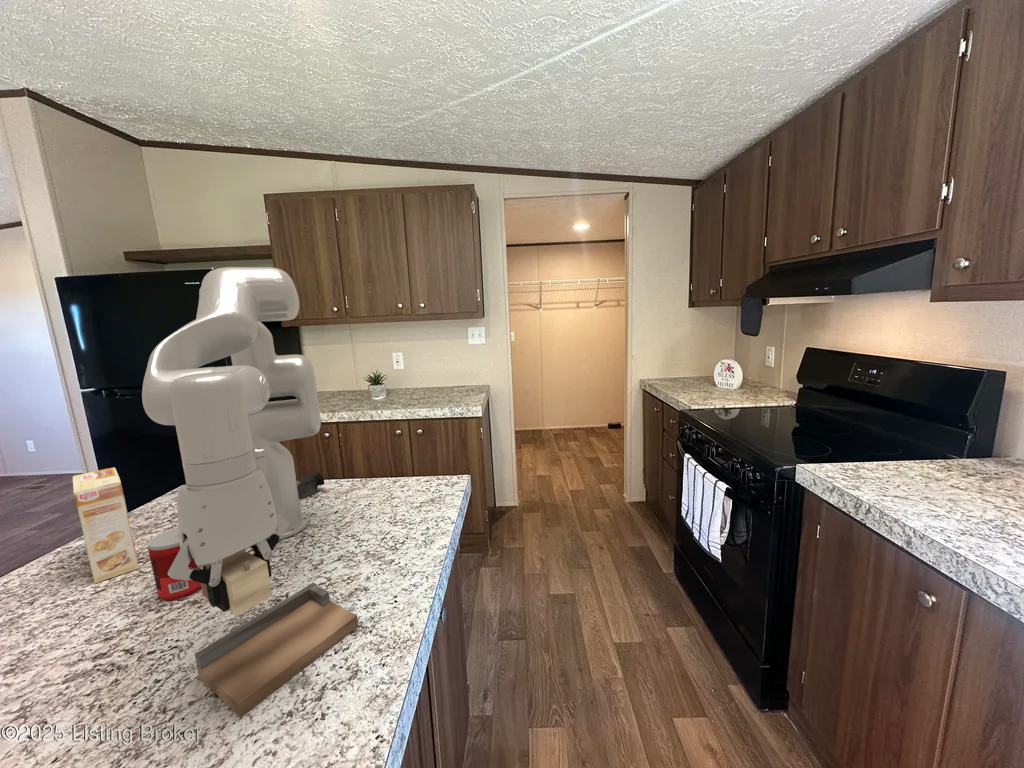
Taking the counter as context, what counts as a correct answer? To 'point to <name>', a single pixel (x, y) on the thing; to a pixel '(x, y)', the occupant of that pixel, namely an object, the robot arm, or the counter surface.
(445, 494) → the counter surface
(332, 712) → the counter surface
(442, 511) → the counter surface
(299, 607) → the board
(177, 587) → the canned food
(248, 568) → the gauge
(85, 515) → the coffeecake box
